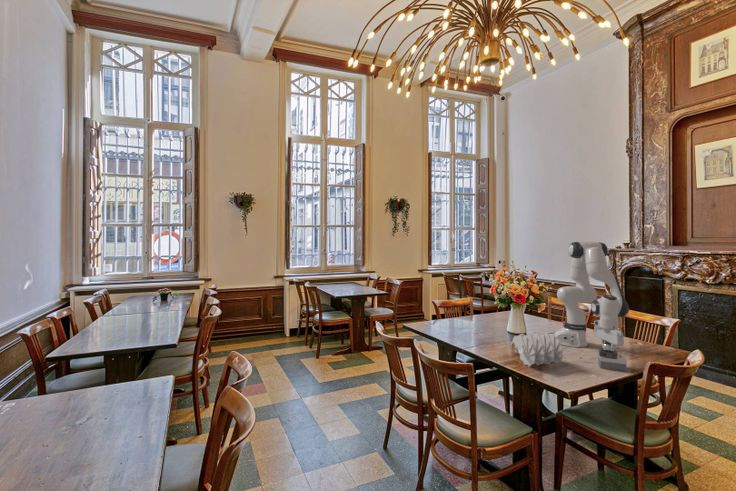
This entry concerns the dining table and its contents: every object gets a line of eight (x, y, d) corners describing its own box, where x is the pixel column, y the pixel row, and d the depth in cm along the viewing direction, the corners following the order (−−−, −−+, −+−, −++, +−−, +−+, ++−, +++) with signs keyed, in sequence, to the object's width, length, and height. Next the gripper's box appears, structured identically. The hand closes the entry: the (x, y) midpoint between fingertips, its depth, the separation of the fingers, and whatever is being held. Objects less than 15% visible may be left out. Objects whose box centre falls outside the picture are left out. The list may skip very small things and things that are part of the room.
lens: (603, 354, 211) (603, 342, 211) (601, 351, 216) (602, 339, 216) (614, 356, 209) (614, 343, 209) (613, 353, 214) (613, 340, 214)
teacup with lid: (524, 350, 242) (525, 332, 242) (533, 354, 233) (533, 335, 233) (507, 350, 240) (507, 332, 240) (514, 355, 231) (515, 336, 231)
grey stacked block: (599, 368, 211) (600, 352, 210) (597, 363, 219) (598, 347, 219) (626, 371, 206) (626, 355, 205) (623, 366, 214) (623, 350, 214)
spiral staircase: (561, 371, 216) (524, 373, 209) (541, 349, 231) (507, 351, 224) (574, 346, 208) (536, 348, 201) (553, 326, 224) (517, 326, 216)
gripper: (627, 329, 202) (626, 355, 202) (602, 320, 222) (602, 344, 223) (615, 329, 202) (615, 355, 202) (592, 320, 222) (591, 344, 223)
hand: (608, 349), depth 213 cm, fingers closed on lens, 5 cm apart
